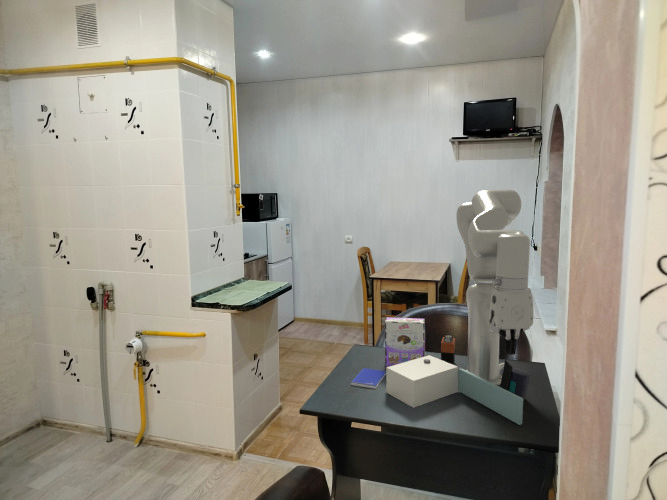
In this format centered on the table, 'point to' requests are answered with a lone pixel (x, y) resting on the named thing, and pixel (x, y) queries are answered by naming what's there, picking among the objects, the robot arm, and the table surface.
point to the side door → (491, 395)
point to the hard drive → (368, 378)
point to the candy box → (404, 340)
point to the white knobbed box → (421, 380)
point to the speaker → (515, 380)
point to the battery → (448, 349)
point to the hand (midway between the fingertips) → (508, 352)
